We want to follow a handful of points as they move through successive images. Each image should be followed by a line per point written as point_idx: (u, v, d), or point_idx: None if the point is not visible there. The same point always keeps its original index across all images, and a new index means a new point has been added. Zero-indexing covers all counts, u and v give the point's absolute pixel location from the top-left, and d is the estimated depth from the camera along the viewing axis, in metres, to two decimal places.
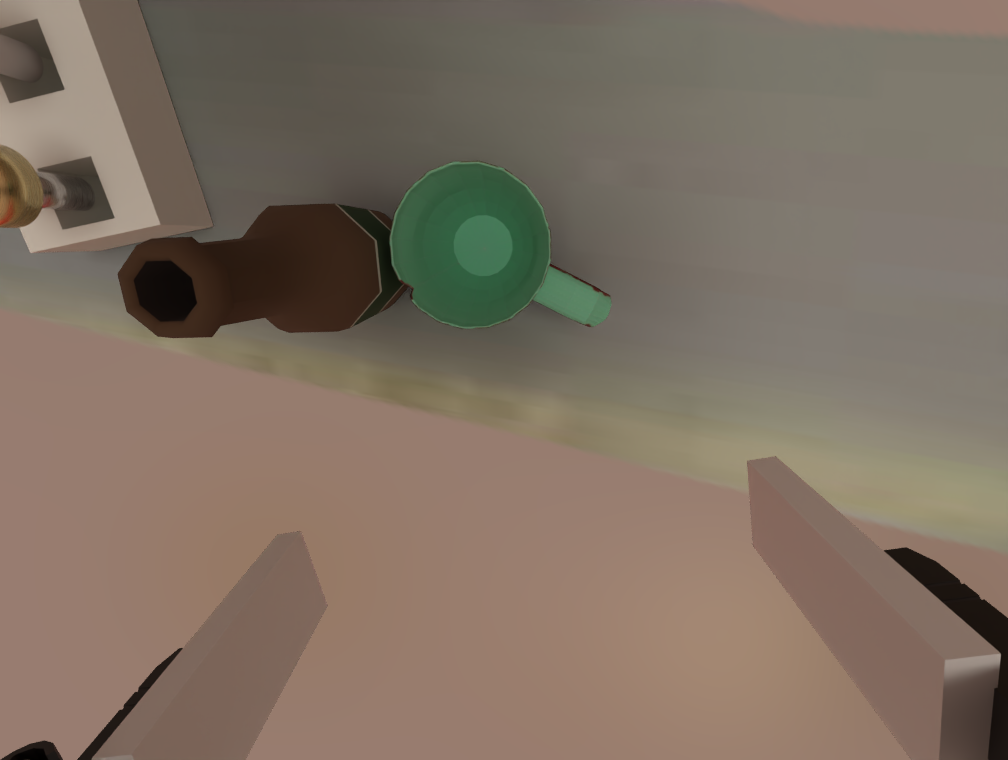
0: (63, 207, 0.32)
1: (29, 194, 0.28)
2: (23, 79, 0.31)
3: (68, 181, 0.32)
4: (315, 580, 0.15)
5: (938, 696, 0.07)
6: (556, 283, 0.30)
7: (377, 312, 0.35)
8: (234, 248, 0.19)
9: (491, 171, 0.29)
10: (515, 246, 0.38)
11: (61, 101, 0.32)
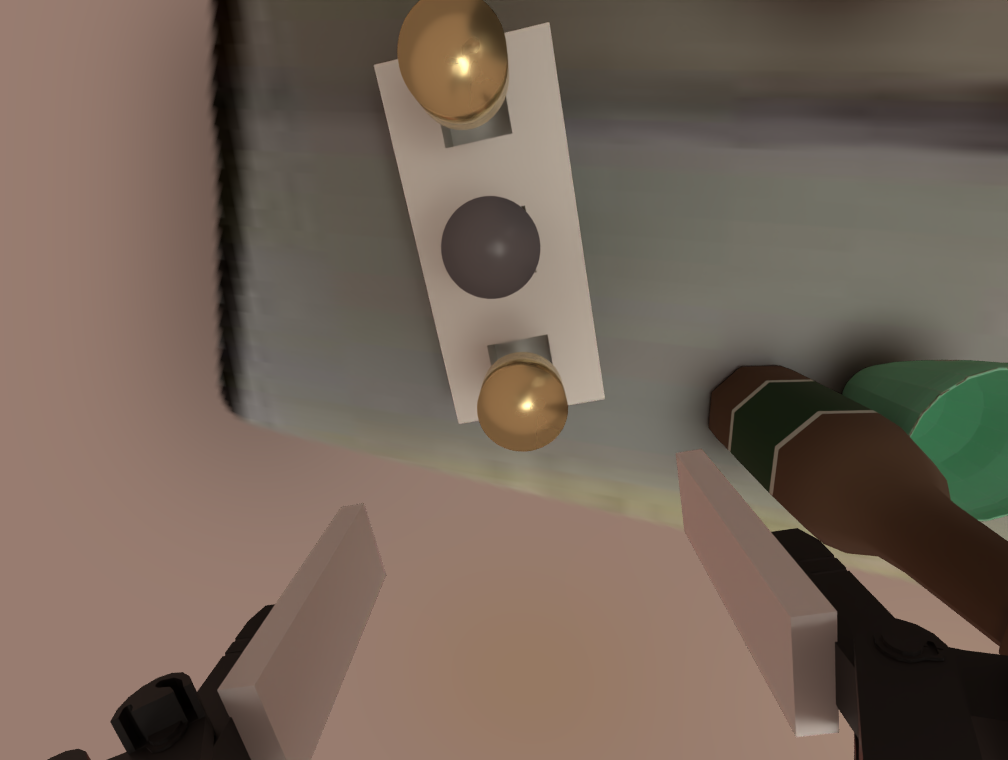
0: None
1: None
2: None
3: None
4: (376, 550, 0.16)
5: (791, 650, 0.09)
6: None
7: None
8: None
9: None
10: None
11: (529, 283, 0.31)
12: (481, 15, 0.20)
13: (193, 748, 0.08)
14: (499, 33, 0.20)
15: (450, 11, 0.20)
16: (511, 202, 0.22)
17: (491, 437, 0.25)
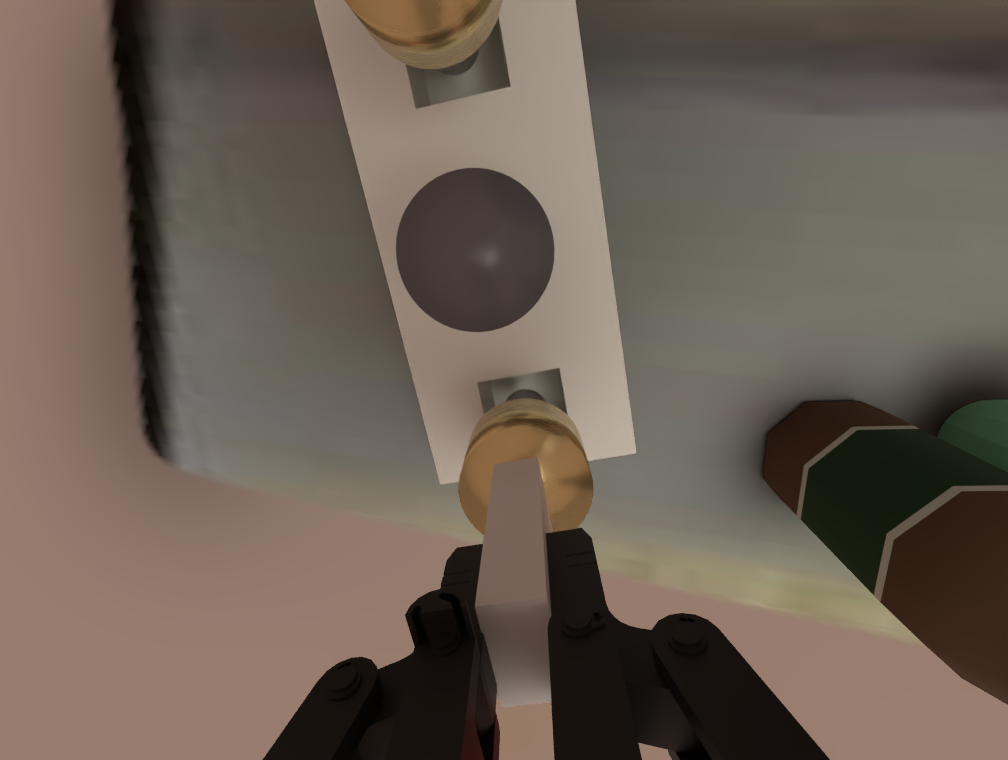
0: None
1: None
2: None
3: None
4: None
5: (520, 630, 0.10)
6: None
7: None
8: None
9: None
10: None
11: None
12: None
13: (464, 667, 0.09)
14: None
15: None
16: (507, 178, 0.13)
17: (480, 528, 0.17)
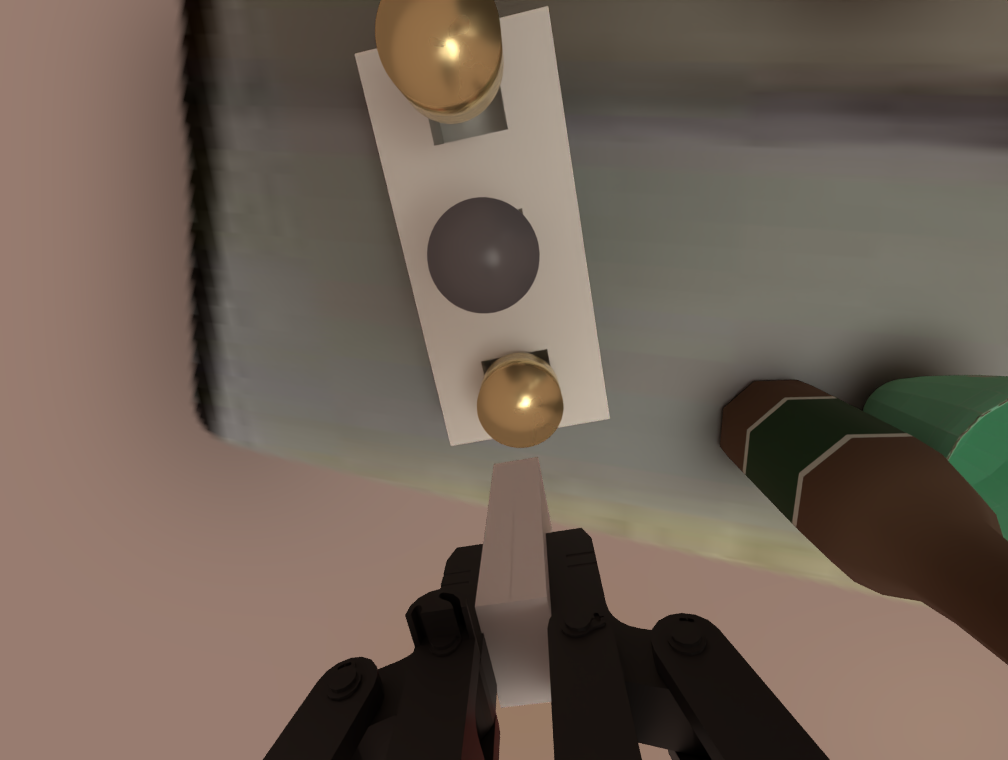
0: None
1: None
2: None
3: None
4: None
5: (520, 630, 0.10)
6: None
7: None
8: None
9: None
10: None
11: (527, 293, 0.28)
12: None
13: (464, 667, 0.09)
14: (491, 10, 0.18)
15: None
16: (506, 204, 0.19)
17: (490, 434, 0.26)
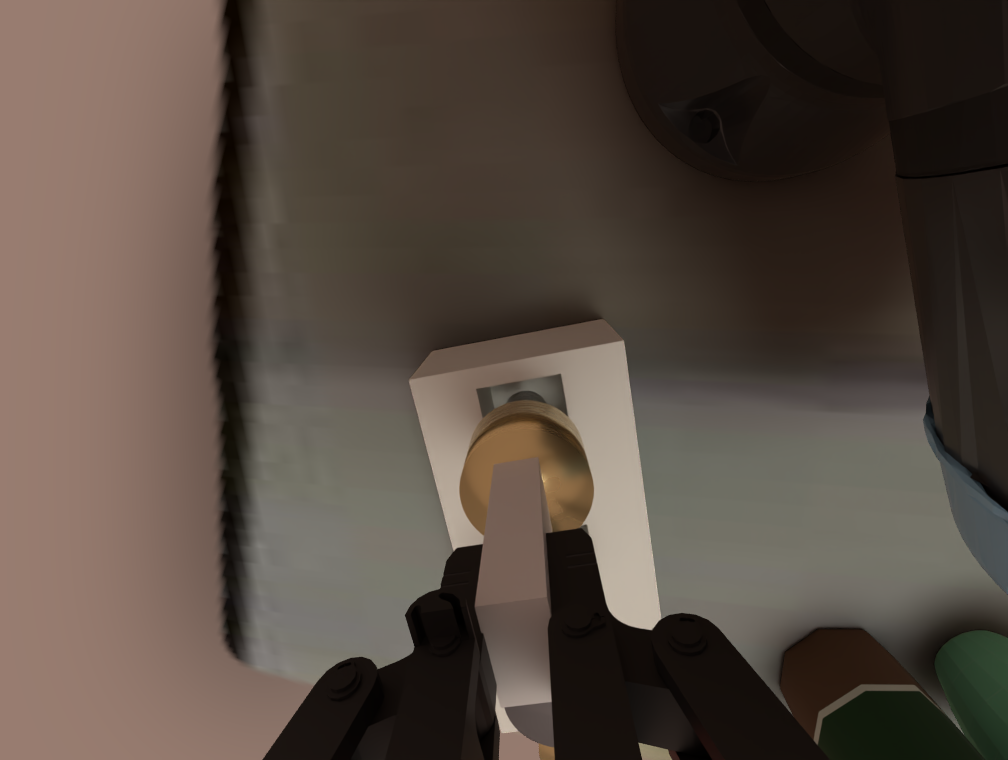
0: None
1: None
2: None
3: None
4: None
5: (520, 630, 0.10)
6: None
7: None
8: None
9: None
10: None
11: None
12: (563, 456, 0.16)
13: (464, 667, 0.09)
14: (585, 474, 0.16)
15: (526, 451, 0.16)
16: None
17: None
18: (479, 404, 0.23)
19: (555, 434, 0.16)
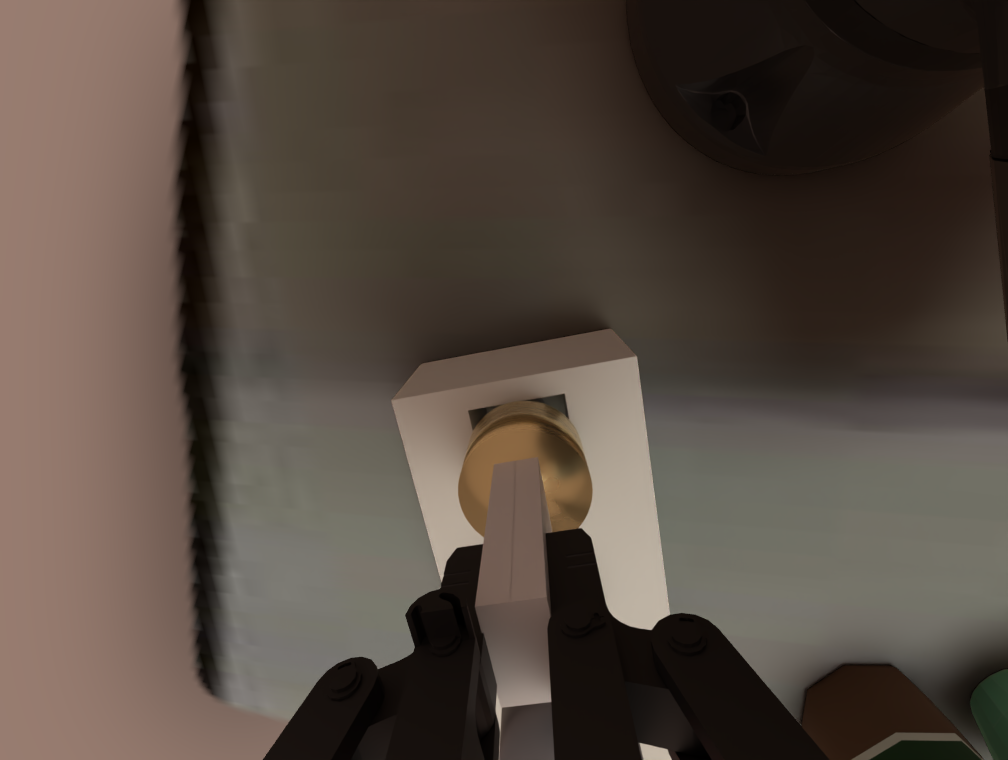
0: None
1: None
2: None
3: None
4: None
5: (519, 630, 0.10)
6: None
7: None
8: None
9: None
10: None
11: None
12: (562, 457, 0.16)
13: (464, 667, 0.09)
14: (584, 475, 0.16)
15: (524, 451, 0.16)
16: None
17: None
18: (472, 427, 0.20)
19: (554, 435, 0.16)
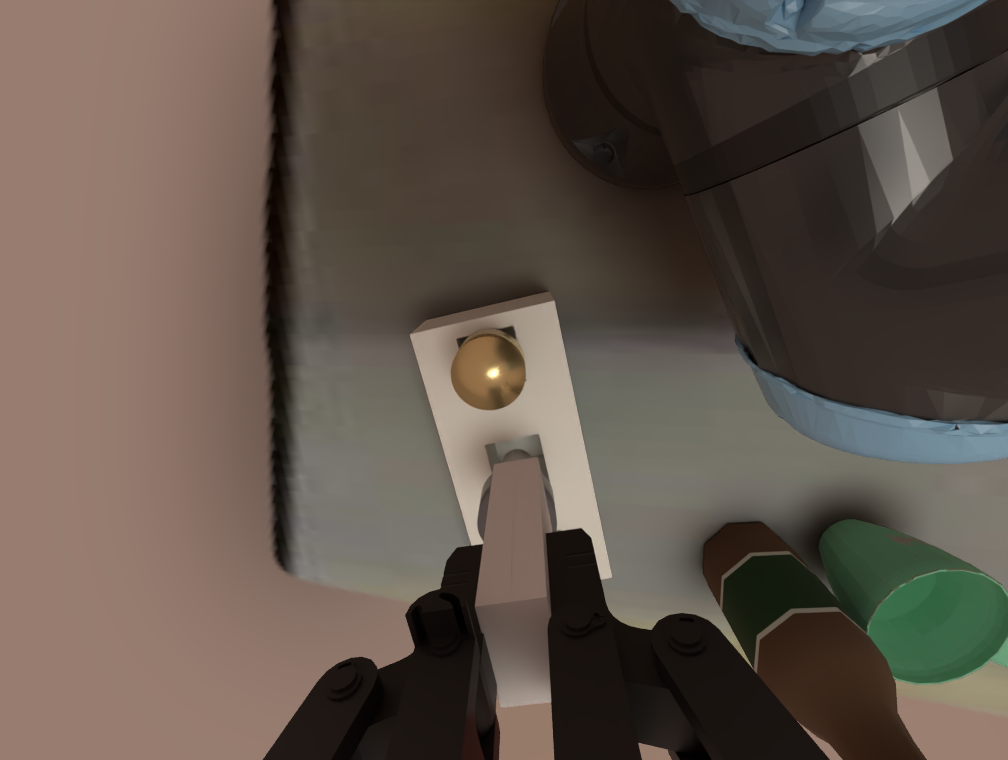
0: None
1: None
2: None
3: None
4: None
5: (520, 630, 0.10)
6: None
7: None
8: None
9: None
10: None
11: None
12: (507, 352, 0.29)
13: (464, 667, 0.09)
14: (520, 362, 0.30)
15: (486, 350, 0.29)
16: None
17: None
18: None
19: (502, 340, 0.29)
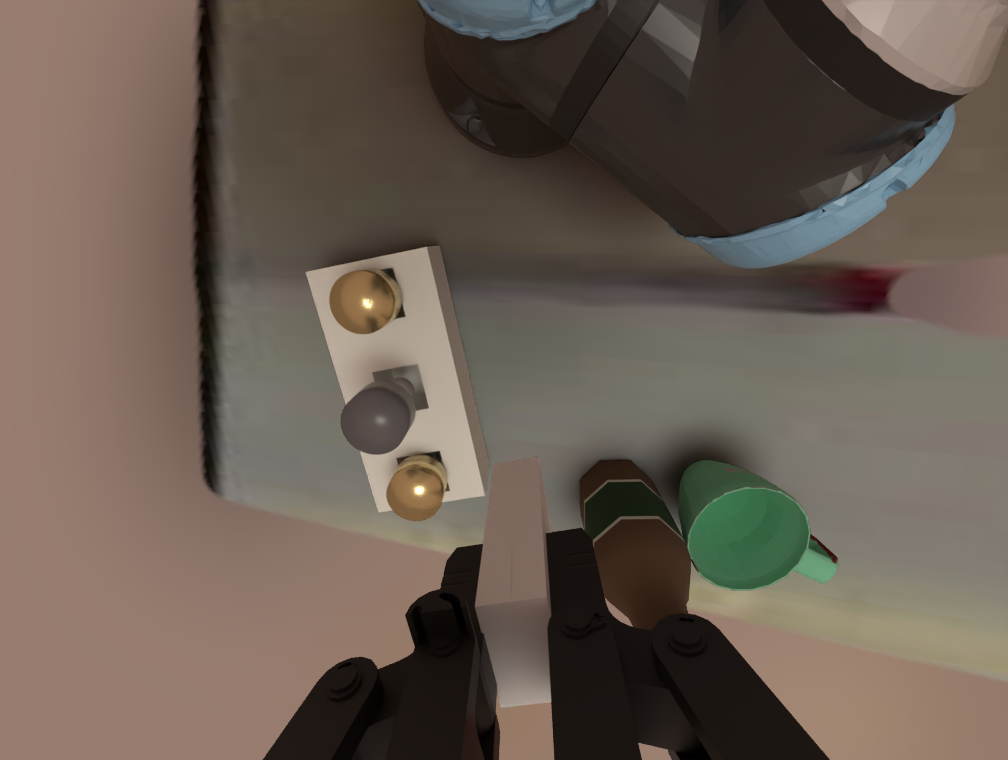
0: None
1: (445, 488, 0.42)
2: None
3: (438, 455, 0.46)
4: None
5: (519, 630, 0.10)
6: (805, 557, 0.41)
7: None
8: None
9: None
10: None
11: (424, 415, 0.42)
12: (375, 284, 0.35)
13: (464, 667, 0.09)
14: (386, 293, 0.35)
15: (358, 282, 0.35)
16: (385, 397, 0.33)
17: (396, 512, 0.40)
18: None
19: (371, 274, 0.35)
